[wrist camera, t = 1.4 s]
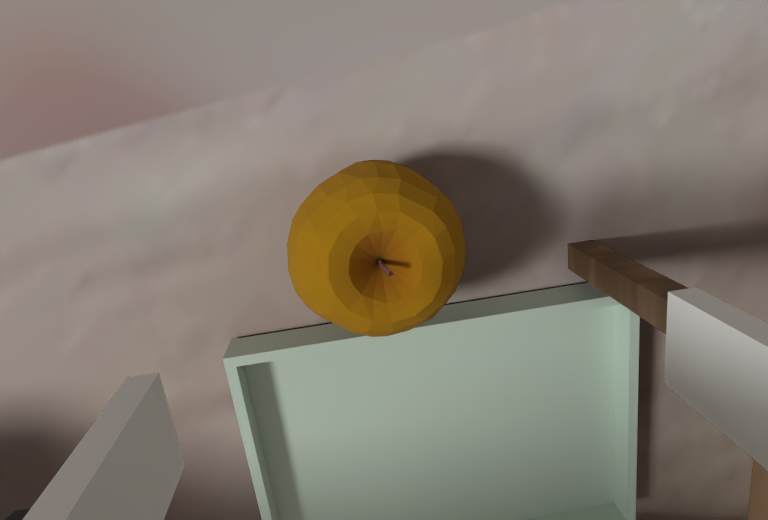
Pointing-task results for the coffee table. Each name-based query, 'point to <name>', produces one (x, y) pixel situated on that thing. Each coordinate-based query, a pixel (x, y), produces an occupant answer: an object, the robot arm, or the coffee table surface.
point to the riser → (646, 316)
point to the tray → (447, 414)
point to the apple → (376, 249)
